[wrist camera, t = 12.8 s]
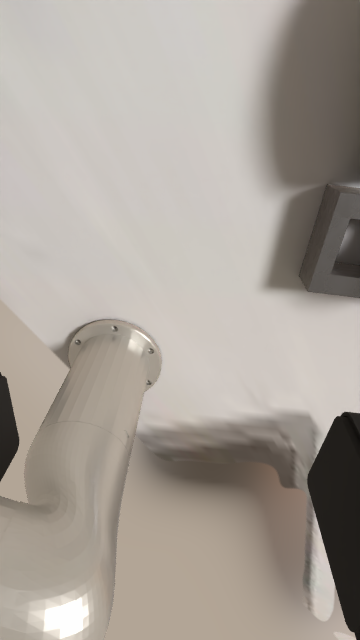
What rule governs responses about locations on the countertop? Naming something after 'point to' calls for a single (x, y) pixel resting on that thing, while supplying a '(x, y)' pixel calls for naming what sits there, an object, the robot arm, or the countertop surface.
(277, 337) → the countertop surface
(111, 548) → the robot arm
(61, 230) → the countertop surface
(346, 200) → the rail
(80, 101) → the countertop surface
